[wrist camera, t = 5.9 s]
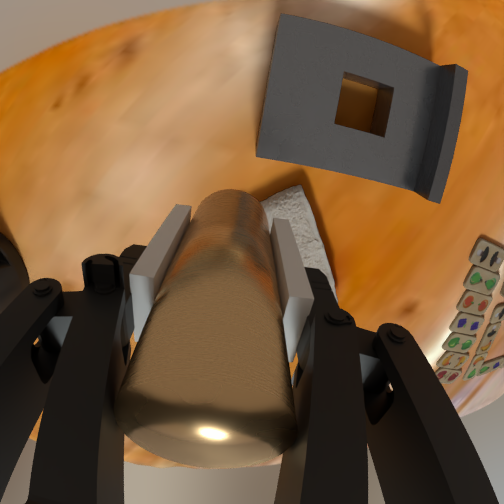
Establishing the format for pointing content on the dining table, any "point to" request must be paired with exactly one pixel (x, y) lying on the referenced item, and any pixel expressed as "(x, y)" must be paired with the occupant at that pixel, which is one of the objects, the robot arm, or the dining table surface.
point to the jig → (385, 114)
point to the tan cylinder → (214, 348)
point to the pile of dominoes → (474, 317)
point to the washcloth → (300, 227)
